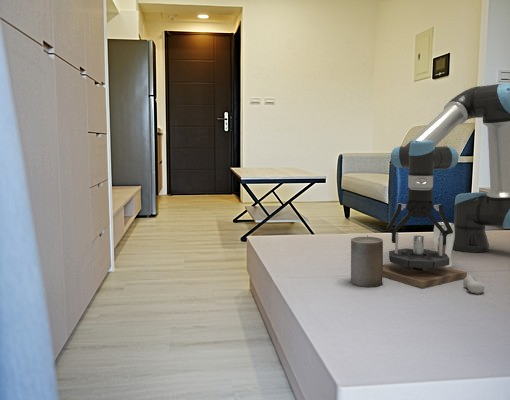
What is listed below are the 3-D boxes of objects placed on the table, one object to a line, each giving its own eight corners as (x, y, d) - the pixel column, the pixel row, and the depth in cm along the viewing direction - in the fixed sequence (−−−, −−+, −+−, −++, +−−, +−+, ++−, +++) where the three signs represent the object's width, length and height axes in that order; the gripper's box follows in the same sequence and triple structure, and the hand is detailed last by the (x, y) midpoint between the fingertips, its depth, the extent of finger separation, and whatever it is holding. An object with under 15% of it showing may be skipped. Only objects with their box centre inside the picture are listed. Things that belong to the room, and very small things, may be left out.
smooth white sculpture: (484, 299, 134) (466, 293, 135) (476, 290, 142) (459, 284, 142) (490, 285, 133) (471, 279, 134) (482, 277, 141) (465, 271, 142)
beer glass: (455, 268, 163) (457, 225, 161) (434, 267, 164) (435, 224, 163) (451, 263, 170) (453, 222, 168) (430, 262, 171) (432, 221, 170)
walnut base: (413, 264, 169) (413, 258, 169) (466, 278, 151) (466, 272, 151) (370, 272, 158) (370, 267, 158) (422, 288, 140) (422, 282, 140)
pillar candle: (383, 279, 150) (384, 233, 148) (381, 288, 140) (381, 238, 139) (352, 277, 153) (352, 231, 151) (348, 286, 144) (348, 237, 142)
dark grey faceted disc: (414, 252, 166) (414, 246, 166) (460, 262, 151) (460, 256, 151) (377, 258, 157) (377, 252, 157) (422, 270, 142) (422, 264, 141)
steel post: (417, 267, 157) (418, 234, 156) (426, 269, 154) (427, 236, 152) (409, 269, 155) (410, 235, 154) (418, 271, 152) (419, 237, 150)
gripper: (380, 189, 151) (378, 254, 153) (464, 190, 145) (461, 258, 147) (379, 187, 158) (378, 249, 160) (460, 188, 152) (457, 253, 154)
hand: (418, 254), depth 154 cm, fingers open, 13 cm apart
